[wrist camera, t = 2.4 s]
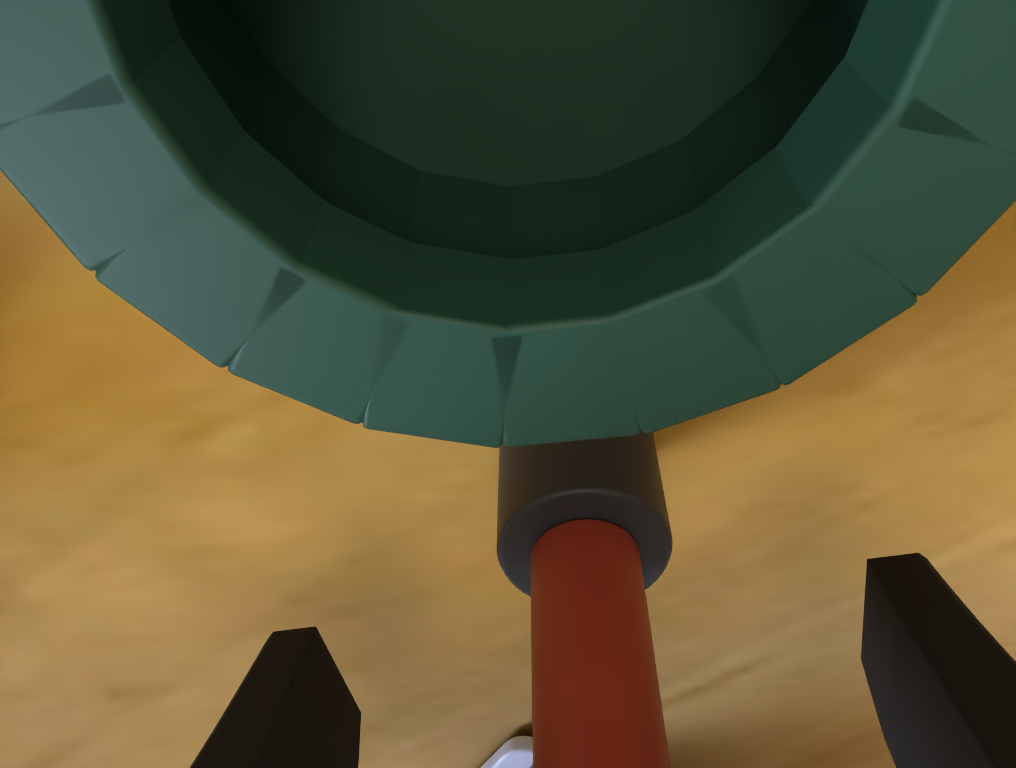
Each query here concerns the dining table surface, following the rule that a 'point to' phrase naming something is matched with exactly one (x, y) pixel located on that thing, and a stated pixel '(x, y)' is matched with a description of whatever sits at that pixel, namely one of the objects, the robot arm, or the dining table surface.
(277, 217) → the teal tube ring
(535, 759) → the red grey stepped cylinder
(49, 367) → the dining table surface
